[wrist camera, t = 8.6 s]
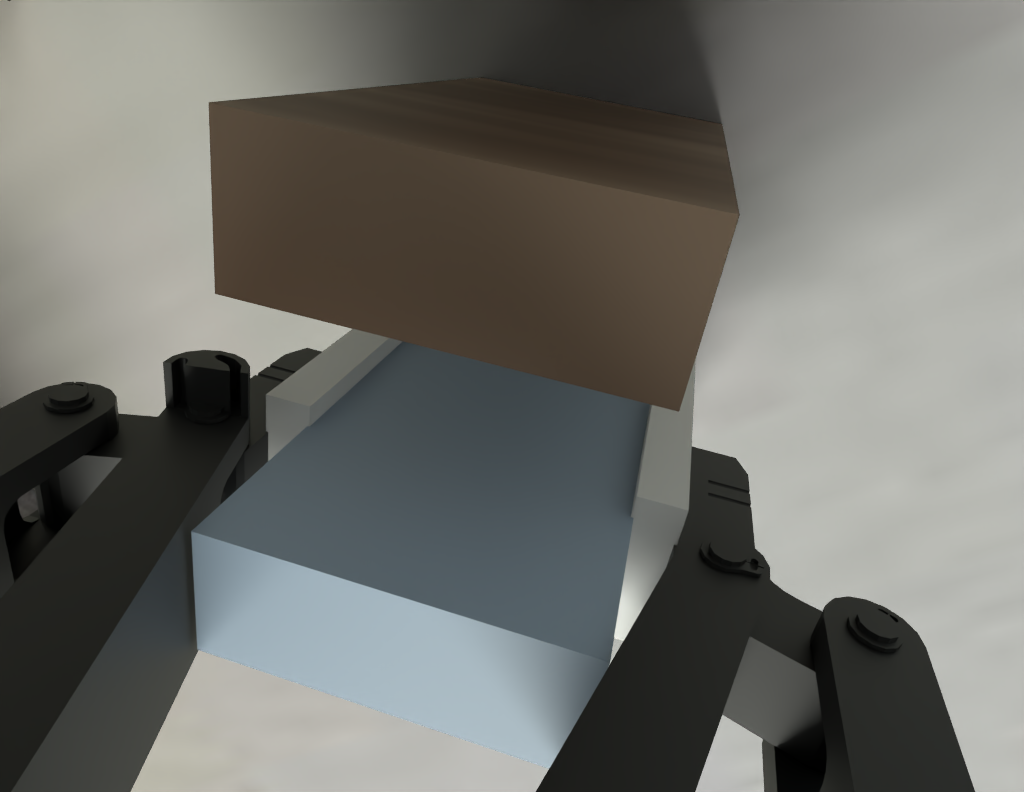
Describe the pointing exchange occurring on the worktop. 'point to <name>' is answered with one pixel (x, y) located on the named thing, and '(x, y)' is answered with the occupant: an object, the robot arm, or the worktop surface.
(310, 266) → the domino
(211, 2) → the worktop surface
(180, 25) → the worktop surface
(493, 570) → the domino
